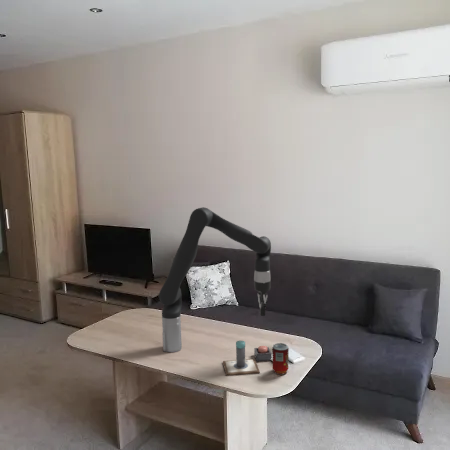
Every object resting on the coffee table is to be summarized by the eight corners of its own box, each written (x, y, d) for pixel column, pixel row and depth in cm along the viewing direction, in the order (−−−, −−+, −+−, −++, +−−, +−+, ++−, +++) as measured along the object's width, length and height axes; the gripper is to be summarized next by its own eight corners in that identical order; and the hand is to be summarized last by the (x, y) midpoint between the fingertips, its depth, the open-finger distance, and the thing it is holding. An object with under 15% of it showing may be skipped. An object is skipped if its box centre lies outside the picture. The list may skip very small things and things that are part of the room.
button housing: (257, 361, 210) (256, 354, 209) (254, 354, 217) (254, 348, 216) (271, 360, 211) (271, 353, 210) (268, 353, 218) (268, 347, 217)
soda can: (289, 375, 196) (289, 348, 194) (272, 375, 196) (272, 348, 194) (287, 367, 203) (287, 342, 201) (272, 367, 203) (272, 342, 201)
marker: (236, 367, 201) (236, 344, 200) (235, 363, 205) (235, 340, 204) (246, 367, 202) (245, 344, 200) (244, 363, 206) (244, 340, 204)
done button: (259, 354, 211) (259, 349, 211) (257, 350, 215) (257, 346, 215) (268, 354, 211) (268, 349, 211) (266, 350, 216) (266, 345, 215)
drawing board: (226, 375, 196) (226, 373, 196) (222, 362, 209) (222, 360, 209) (259, 373, 198) (259, 371, 198) (254, 360, 211) (254, 358, 211)
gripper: (252, 276, 214) (252, 311, 217) (257, 283, 201) (257, 320, 204) (267, 275, 215) (267, 310, 218) (273, 283, 202) (273, 319, 205)
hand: (262, 315), depth 211 cm, fingers closed
